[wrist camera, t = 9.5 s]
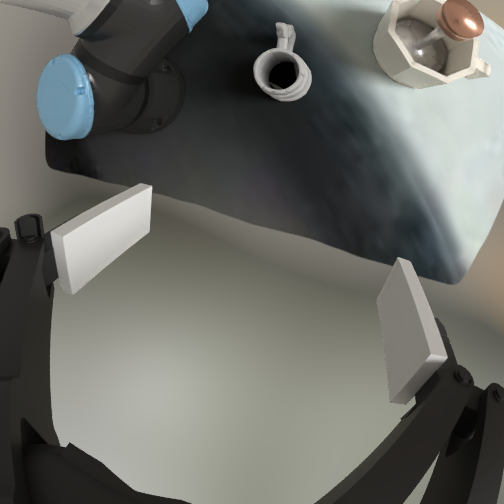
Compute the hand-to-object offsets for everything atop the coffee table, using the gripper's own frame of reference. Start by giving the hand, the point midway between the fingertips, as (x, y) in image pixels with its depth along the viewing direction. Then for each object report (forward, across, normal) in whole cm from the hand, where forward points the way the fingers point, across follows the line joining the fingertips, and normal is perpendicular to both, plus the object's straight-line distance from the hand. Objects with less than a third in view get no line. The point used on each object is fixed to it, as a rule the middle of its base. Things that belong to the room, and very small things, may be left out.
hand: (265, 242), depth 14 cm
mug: (+35, -6, +13) cm, 38 cm away
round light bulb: (+31, +12, +22) cm, 40 cm away
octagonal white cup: (+35, +14, +22) cm, 43 cm away
